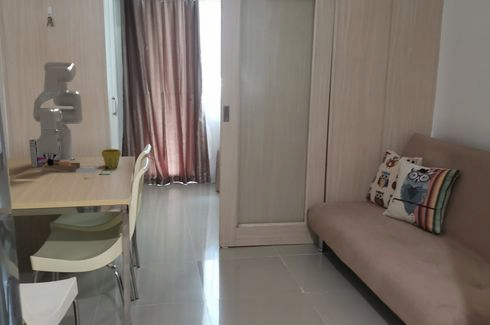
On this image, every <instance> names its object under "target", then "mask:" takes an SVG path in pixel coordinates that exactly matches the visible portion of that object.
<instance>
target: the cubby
mask: <svg viewBox="0 0 490 325" xmlns="http://www.w3.org/2000/svg"><path fill="white" fill-rule="evenodd" d="M80 166H81V162H71V166H59V162H54V165H53V166H48V165H47V164H45V165H43V166H41V168H42V169H41V170H42V171H43V172H71V171H76V168H80Z"/></svg>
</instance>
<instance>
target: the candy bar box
mask: <svg viewBox="0 0 490 325" xmlns="http://www.w3.org/2000/svg"><path fill="white" fill-rule="evenodd" d="M28 141H29V142H28V143H29V153H30V164H31V168H40V167H41V168H42V166H43V165H45V164H47V159H46V158H45V157H44V156H40V155H39V153H40V152H39V138H34V139H29V140H28ZM49 156H50V158H51V154H49Z"/></svg>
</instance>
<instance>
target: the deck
mask: <svg viewBox="0 0 490 325" xmlns="http://www.w3.org/2000/svg"><path fill="white" fill-rule="evenodd" d="M84 167H85V165H80V168H76V171H71V172H43V171H42V169H41V170H40V171H38V172H37V174H75V173H76V174H81V173H84V174H85V173H89V174H90V173H92V174H93V173H96V171H97V170H98V169H99V168H100V167H101V165H93V166H92V167H85V168H84Z"/></svg>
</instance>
